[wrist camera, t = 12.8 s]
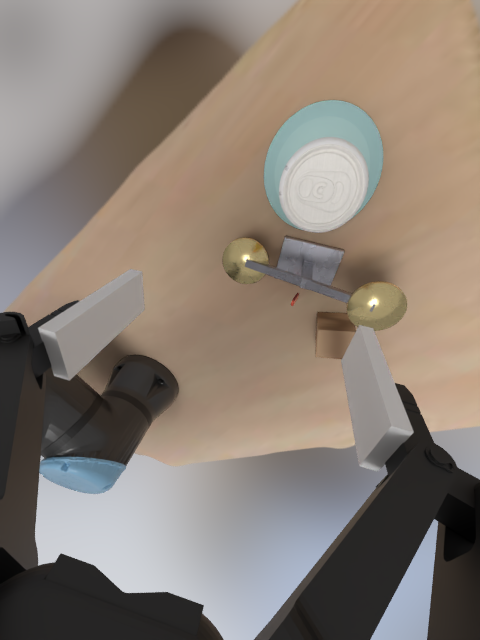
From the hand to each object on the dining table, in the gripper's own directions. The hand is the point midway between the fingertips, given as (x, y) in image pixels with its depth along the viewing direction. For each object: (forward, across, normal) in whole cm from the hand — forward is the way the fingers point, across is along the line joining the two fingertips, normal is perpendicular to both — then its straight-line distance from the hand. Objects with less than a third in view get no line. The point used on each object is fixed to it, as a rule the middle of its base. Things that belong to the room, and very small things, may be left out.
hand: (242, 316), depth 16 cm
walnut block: (+24, +12, -13) cm, 30 cm away
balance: (+24, +5, -4) cm, 25 cm away
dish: (+24, +3, +7) cm, 25 cm away
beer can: (+22, +3, +7) cm, 24 cm away
